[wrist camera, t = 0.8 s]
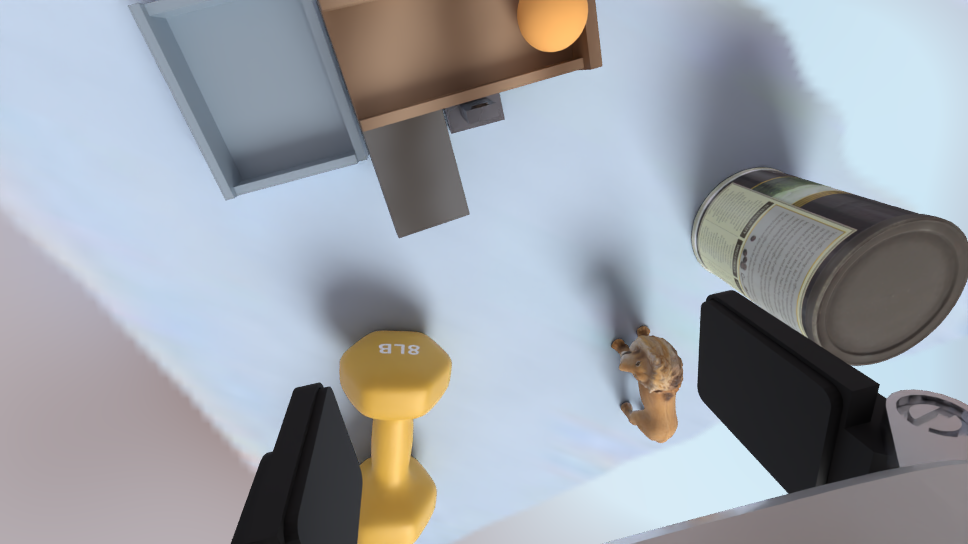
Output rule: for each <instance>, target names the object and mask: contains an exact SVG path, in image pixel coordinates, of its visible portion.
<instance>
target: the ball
mask: <svg viewBox="0 0 968 544" xmlns="http://www.w3.org/2000/svg"><path fill="white" fill-rule="evenodd" d="M587 16H588V2H587V0H519V3H518V9H517V21H518V26H519V29H520V32H521V34H522V36H523V37H524V39H525V40H526V41H527V42H528V43H529V44H530V45H531V46H532V47H534V48H536V49H538V50H540V51H544V52H556V51H560V50H563V49H565V48H567V47H568V46H570V45H571V44H572V43H574V42H575V41H576V40H577V38H578V37H579V36H580V34H581V33H582V31H583V29H584V27H585V24H586V21H587Z"/></svg>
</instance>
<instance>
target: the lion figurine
mask: <svg viewBox="0 0 968 544" xmlns="http://www.w3.org/2000/svg"><path fill="white" fill-rule="evenodd" d="M649 333H650V330H649V328H647V327H646V326H641V327H639V328H638V329H637V335H638V338H637V339H636V340H635V341H633V342H632V344H631V345H630V348H629V347H628V345H627V344H625V343H624V341H623V340H622V339H616V340H615V341H614V342H613V344H612V345H611V347H612V348H613V349H615V350H616V351H617V352H618V353H619V354H620V358H621V361H620V365H619V369H620V370H621V371H626V372H631V373H632V374H633V376H634V377H635V378H636V379H637V380H638V385H639V392H640V396H641V400H642V403H643V405H644V410H636V411H632V405H631V404H630V403H628V402H625V403H623V404H622V405H621V410H622V411H623V413H624V414H625V415H626V416H627V418H628V419H629V422H630V423H632V424H633V425H637V426H638V428H639V429H640V430H641V431H642V432H643V433H644V434H645V435H646V436H647V437H648V438H649V439H651V440H654V441H657V442H658V443H663V442H666V441H667V440H668V439H669V438H671V437H672V436H673V434H674V433H675V431H676V429H677V425H678V421H677V416H676V410H675V397H676V392H677V391H678V390H679V388H680V387H681V382H682V381H683V368H682V366H683V363H682V360H681V358H680V357H679V356H678V355H677V351H676V350H675V349H674V348H673V346H672V345H671V344H670V343H669V342H667V341H666V340H665V339H663V338H659V337H655V336H649Z"/></svg>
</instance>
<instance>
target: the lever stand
mask: <svg viewBox="0 0 968 544" xmlns="http://www.w3.org/2000/svg"><path fill="white" fill-rule="evenodd" d="M444 109H445V112H446V116H447V120H448V124H449V128H450V132H451V134H452V133H456V132H460V131H463V130H467V129H471V128H474V127H478V126H482V125H486V124H489V123H493V122H497V121H500V120H504V119H505V118H504V114H503V109H502V104H501V99H500V94H499V93H496V94H493V95H489V96H486V97H482V98H479V99H475V100H472V101H469V102H465V103H462V104H458V105H455V106H451V107H448V108H444Z"/></svg>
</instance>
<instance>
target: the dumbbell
mask: <svg viewBox="0 0 968 544" xmlns="http://www.w3.org/2000/svg"><path fill="white" fill-rule="evenodd" d="M451 366H452V362H451V359H450V357H449V355H448V354H447V353H446V352H445V351H444V350H443V349H442V348H441V347H440V346H439V345H438V344H437V343H436V342H435V341H433V340H432V339H431V338H430V337H428V336H427V335H425V334H423V333H420V332H413V331H385V330H384V331H374V332H371V333H369V334H368V335H366V336H365V337H363V338H362V339H360V340H359V341H358V342H357V343H355V344H354V345H353V346H351V347H350V348H349V349H348V350H347V351H346V352H345V353H344V354H343V355H342V357H341V359H340V369H339V371H340V383H341V386H342V388H343V390H344V392H345V394H346V396H347V397H348V399H349V400H350V402H351V403H352V404H353V405H354V407H355V408H356V409H357V410H358V411H359V412H360V413H362V414H363V415H365V416H367V417H370V418H373V424H372V437H371V458H368V459H366V460H365V461H364V462H363V463H362V464H361V465H360V469H361V473H362V481H363V485H362V497H361V508H360V519H359V530H358V541H357V544H413V543H414V542H415V541H416V540H417V538H418V537H419V536H420V534H421V533H422V531H423V530H424V528H425V526H426V525H427V523H428V521H429V519H430V517H431V515H432V513H433V511H434V508H435V504H436V496H437V490H436V486H435V483H434V482H433V480H432V478H431V477H430V475H429V474H428V473H427V471H426V470H425V469H424V468H423V466H422V465H421V464H420V463H419V462H418V461H417V460H416V459H415V458H414V457H412V456H411V450H412V443H413V419H415V418H418V417H421V416H423V415H425V414H426V413H428V412H429V411H430V410H431V409H432V408H433V407H434V405H435V404H436V403H437V402H438V401H439V399H440V398H441V397H442V395H443V394H444V392H445V391H446V389H447V387H448V385H449V381H450V375H451Z"/></svg>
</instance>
